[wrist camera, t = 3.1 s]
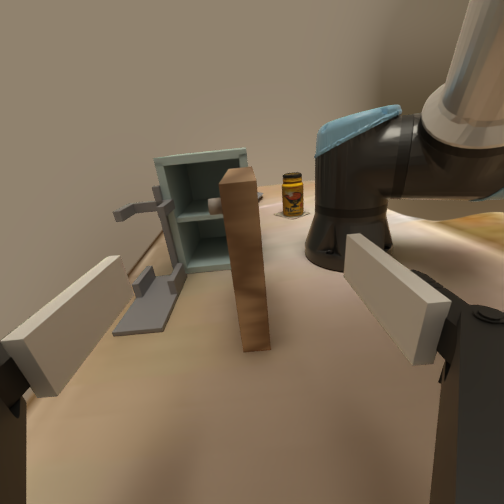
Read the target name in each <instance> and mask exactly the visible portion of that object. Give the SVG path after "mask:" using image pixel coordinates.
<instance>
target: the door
mask: <svg viewBox="0 0 504 504" xmlns="http://www.w3.org/2000/svg"><path fill="white" fill-rule="evenodd" d="M218 185H219V192H220V198H212V199H208V208H209V213H210V215H216V214H223V218H224V225H225V232H226V238H227V245H228V252H229V258H230V265H231V272H232V278H233V285H234V292H235V299H236V305H237V312H238V319H239V325H240V332H241V339H242V345H243V352H253V351H264V350H271V346H270V334H269V323H268V311H267V299H266V287H265V276H264V264H263V252H262V241H261V229H260V217H259V206H258V194H257V183H256V178H255V175H254V172H253V169H252V167H242V168H233V169H228V171H227V172H226V174H225V175H224V177H223V178H222V180H221V181H220V183H219V184H218Z"/></svg>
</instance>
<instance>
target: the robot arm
mask: <svg viewBox="0 0 504 504" xmlns="http://www.w3.org/2000/svg"><path fill="white" fill-rule="evenodd" d="M401 113H402V110H401V107H400V105H389V106H385V107H381V108H376V109H372V110H367V111H363V112H360V113H356V114H352V115H349V116H345V117H343V118H339V119H336V120H333V121H331V122H328V123H326V124H325V125H323V126H322V127H321V128H320V130H319V131H318V134H317V142H316V154H315V164H316V165H315V166H316V167H315V215H314V218H313V221H312V224H311V227H310V230H309V233H308V235H307V238H306V242H305V254H306V257H307V258H308V259H309V260H310V261H311V262H313V263H315V264H317V265H319V266H321V267H324V268H327V269H331V270H337V271H344V278H345V279H346V280H347V281H348V283H349V284H350V285H351V287H352V288H353V289H354V291H355V292H356V293H357V294H358V296H359V297H360V298H361V300H362V301H363V302H364V304H365V305H366V306H367V308H368V309H369V310H370V311H371V313H372V314H373V315H374V317H375V318H376V319H377V321H378V322H379V323H380V324H381V326H382V327H383V328H384V330H385V331H386V332H387V334H388V335H389V336H390V337H391V339H392V340H393V341H394V343H395V344H396V345H397V347H398V348H399V349H400V350H401V352H402V353H403V354H404V356H405V357H406V358H407V360H408V361H409V362H410V363H411V365H412V366H414V365H426V364H433V363H434V360H435V356H436V353H437V351H438V352H439V354H440V355H441V356H442V357H443V358H444V359H445V363H444V366H443V369H442V372H441V375H440V378H439V381H438V382H439V383H441V393H440V403H439V413H438V423H437V433H436V443H435V453H434V463H433V473H432V483H431V493H430V503H429V504H504V313H503V312H501V311H499V310H497V309H493V308H490V307H487V306H481V305H469V304H468V303H466V302H465V301H463V300H462V299H460V298H459V297H458V296H456V295H455V294H453V293H452V292H450V291H449V290H448V289H446V288H443V286H442V285H440V284H439V283H438V282H436V281H435V280H433V279H432V278H430V277H429V276H427V275H426V274H423V273H421V272H419V271H416V270H409V269H408V268H406V267H405V266H404V265H402V264H401V263H399V262H398V261H397V260H395V259H394V258H393V257H392V252H393V243H392V239H391V235H390V230H389V226H388V221H387V217H386V212H387V204H388V199H426V200H427V199H428V200H463V201H483V200H497V199H504V0H470V1H469V5H468V8H467V11H466V15H465V18H464V22H463V25H462V29H461V32H460V35H459V39H458V42H457V45H456V49H455V52H454V56H453V59H452V63H451V66H450V69H449V73H448V76H447V79H446V83H445V84H443V85H442V86H440V87H439V88H438V89H437V90H435V91H434V92H433V93H432V94H431V95H430V97H429V98H428V99H427V101H426V103H425V105H424V107H423V110H422V113H418V114H412V115H403V116H400V115H401ZM133 296H134V294H133V291H132V288H131V285H130V282H129V279H128V276H127V273H126V270H125V268H124V265H123V262H122V259H121V256H120V255H119V256H108V257H106V258H105V259H104V260H102V261H101V262H100V263H98V264H97V265H96V266H95V267H93V268H92V269H91V270H90V271H88V272H87V273H86V274H84V275H83V276H82V277H81V278H80V279H78V280H77V281H76V282H74V283H73V284H72V285H71V286H69V287H68V288H67V289H65V290H64V291H63V292H62V293H60V294H59V295H58V296H57V297H55V298H54V299H53V300H52V301H50V302H49V303H48V304H46V305H45V306H44V307H43V308H41V309H40V310H38V311H37V312H36V313H35V314H33V315H32V316H31V317H29V318H28V320H26V321H24V322H23V323H22V324H21V325H20V326H19V327H17V328H15V329H14V330H13V331H12V332H10V333H9V334H8V335H7V336H5V337H4V338H3V339H1V340H0V504H26V401H25V399H24V398H23V397H22V395H23V394H24V393H25V392H26V390H27V389H28V388H29V387H31V389H32V390H33V392H34V393H35V395H36V396H37V398H42V397H54V396H58V395H59V394H60V393H61V391H62V390H63V389H64V387H65V386H66V385H67V383H68V382H69V381H70V379H71V378H72V377H73V375H74V374H75V373H76V371H77V370H78V369H79V367H80V366H81V365H82V363H83V362H84V361H85V359H86V358H87V357H88V356H89V354H90V353H91V352H92V350H93V349H94V348H95V346H96V345H97V344H98V342H99V341H100V340H101V338H102V337H103V336H104V334H105V333H106V332H107V330H108V329H109V328H110V326H111V325H112V324H113V322H114V321H115V320H116V318H117V317H118V316H119V314H120V313H121V312H122V310H123V309H124V308H125V306H126V305H127V304H128V302H129V301H130V300H131V298H132V297H133Z"/></svg>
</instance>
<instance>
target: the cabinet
mask: <svg viewBox="0 0 504 504" xmlns="http://www.w3.org/2000/svg"><path fill="white" fill-rule="evenodd" d="M154 163H155V167H156V171H157V175H158V179H159V183H160V186H153V187H152V190H153V194H154V198H155V201H149V202H139V203H129V204H127V205H125V206H123V207H121V208H119V209H117V210H115V211H113V214H114V217H115V220H116V222H121V221H124V220H126V219H127V218H129V217H130V216H132V215H134V214H135V213H143V212H153V211H157V212H158V216H159V218H160V221H161V224H162V228H163V232H164V236H165V240H166V244H167V247H168V251H169V255H170V259H171V263H172V267H173V272H172V274H171V275H164V276H155V273H154V270H153V267H152V266H146V268H145V269H144V270H143V271H142V273H141V274H140V275H139V276H138V278H137V279H136V280H135V281H134V282H133V284H132V287H133V290H134V293H135V296H136V299H135V301H134V302H133V303H132V305H131V306H130V308H129V309H128V310H127V312H126V313H125V315H124V316H123V318H122V319H121V320H120V322H119V323H118V325H117V326H116V327H115V329H114V330H113V332H112V334H113V336H121V335H132V334H142V333H153V332H163V331H164V328H165V326H166V324H167V321H168V319H169V317H170V315H171V312H172V310H173V308H174V305H175V303H176V301H177V299H178V296H179V294H180V292H181V289H182V287H183V285H184V282H185V280H186V278H187V274H189V273H199V272H209V271H219V270H230V269H231V265H230V258H229V252H228V245H227V238H226V232H225V225H224V218H223V214H216V215H210V213H209V208H208V199H212V198H220V192H219V185H218V184H219V183H220V181H221V180H222V178H223V177H224V175H225V174H226V172H227V171H228V169H233V168H242V167H248V163H247V153H246V148H237V149H227V150H217V151H207V152H198V153H189V154H179V155H172V156H166V157H159V158H154Z"/></svg>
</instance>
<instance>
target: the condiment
mask: <svg viewBox="0 0 504 504" xmlns="http://www.w3.org/2000/svg"><path fill="white" fill-rule="evenodd" d="M282 198H283V212H280V213H277V214H274V215H278V216H282V217H285V218H290V219H295V218H298V217H301V216H304V215H306V214H309V213H308V212H303V209H304V208H303V183H302V174H301V173H287V174H284V175H283V184H282Z"/></svg>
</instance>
